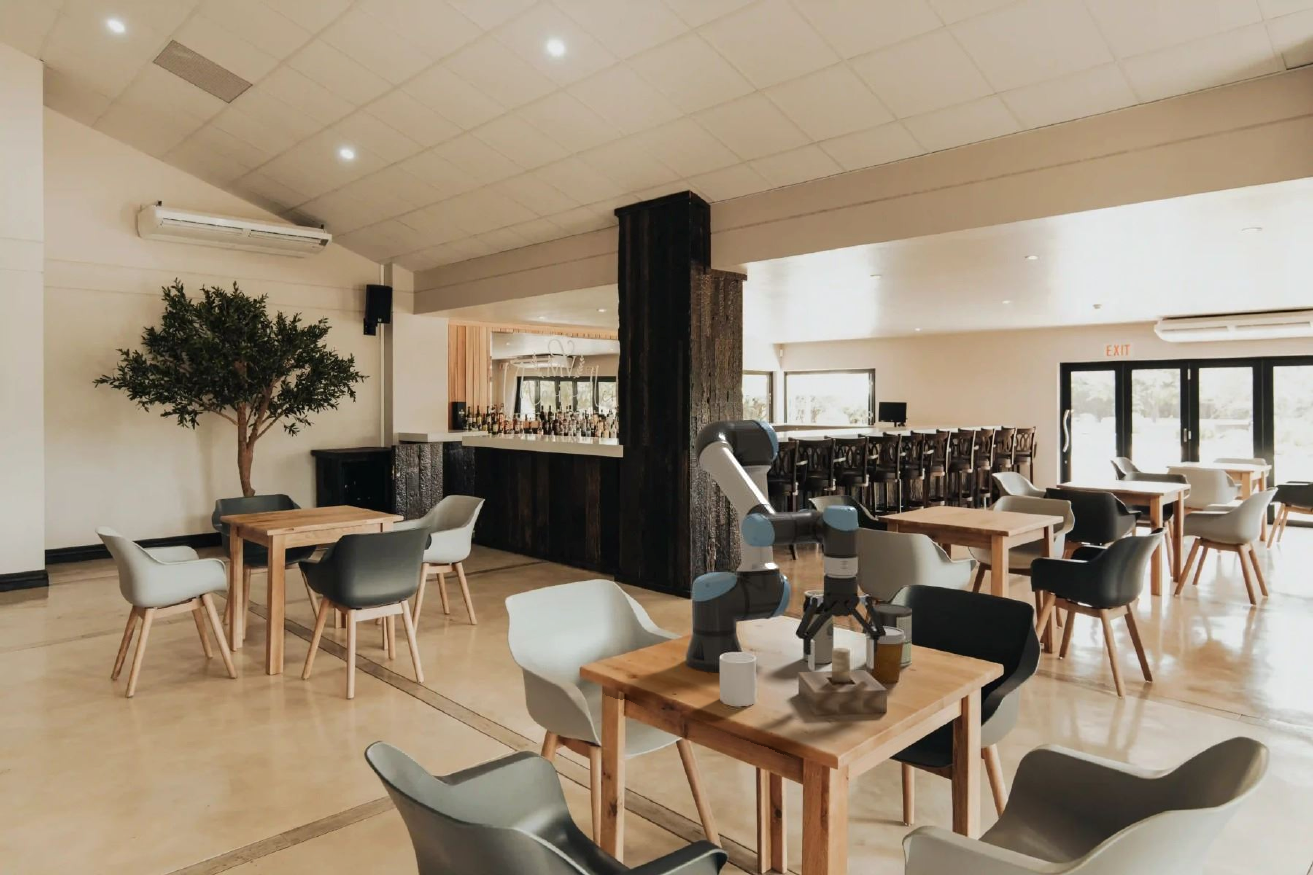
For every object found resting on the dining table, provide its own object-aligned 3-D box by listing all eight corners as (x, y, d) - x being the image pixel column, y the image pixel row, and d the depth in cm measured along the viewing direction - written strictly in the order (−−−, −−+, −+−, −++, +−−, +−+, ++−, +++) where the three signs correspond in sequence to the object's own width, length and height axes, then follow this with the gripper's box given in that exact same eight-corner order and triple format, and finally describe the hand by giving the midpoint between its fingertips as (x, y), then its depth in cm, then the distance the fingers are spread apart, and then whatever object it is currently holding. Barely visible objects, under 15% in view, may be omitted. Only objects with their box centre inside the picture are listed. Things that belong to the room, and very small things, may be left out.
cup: (713, 703, 181) (713, 659, 180) (735, 688, 191) (735, 646, 191) (747, 710, 176) (747, 664, 176) (767, 693, 187) (767, 650, 187)
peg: (835, 706, 178) (834, 653, 178) (829, 699, 182) (829, 647, 182) (852, 705, 179) (852, 652, 178) (847, 699, 183) (846, 647, 182)
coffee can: (876, 666, 206) (876, 612, 206) (867, 655, 217) (867, 603, 216) (917, 667, 206) (916, 612, 206) (905, 655, 216) (905, 603, 216)
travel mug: (797, 659, 214) (796, 592, 213) (817, 653, 218) (816, 588, 218) (819, 666, 207) (819, 597, 207) (839, 660, 212) (839, 593, 212)
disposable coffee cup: (904, 674, 200) (903, 626, 200) (907, 686, 191) (907, 636, 191) (865, 671, 202) (864, 624, 202) (866, 683, 193) (866, 634, 193)
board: (815, 715, 173) (815, 692, 173) (798, 693, 187) (798, 672, 187) (886, 712, 174) (886, 689, 174) (865, 690, 188) (864, 669, 188)
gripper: (790, 579, 175) (790, 674, 176) (900, 576, 177) (900, 671, 178) (782, 572, 183) (782, 664, 183) (888, 570, 185) (888, 660, 185)
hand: (840, 667), depth 180 cm, fingers open, 13 cm apart
